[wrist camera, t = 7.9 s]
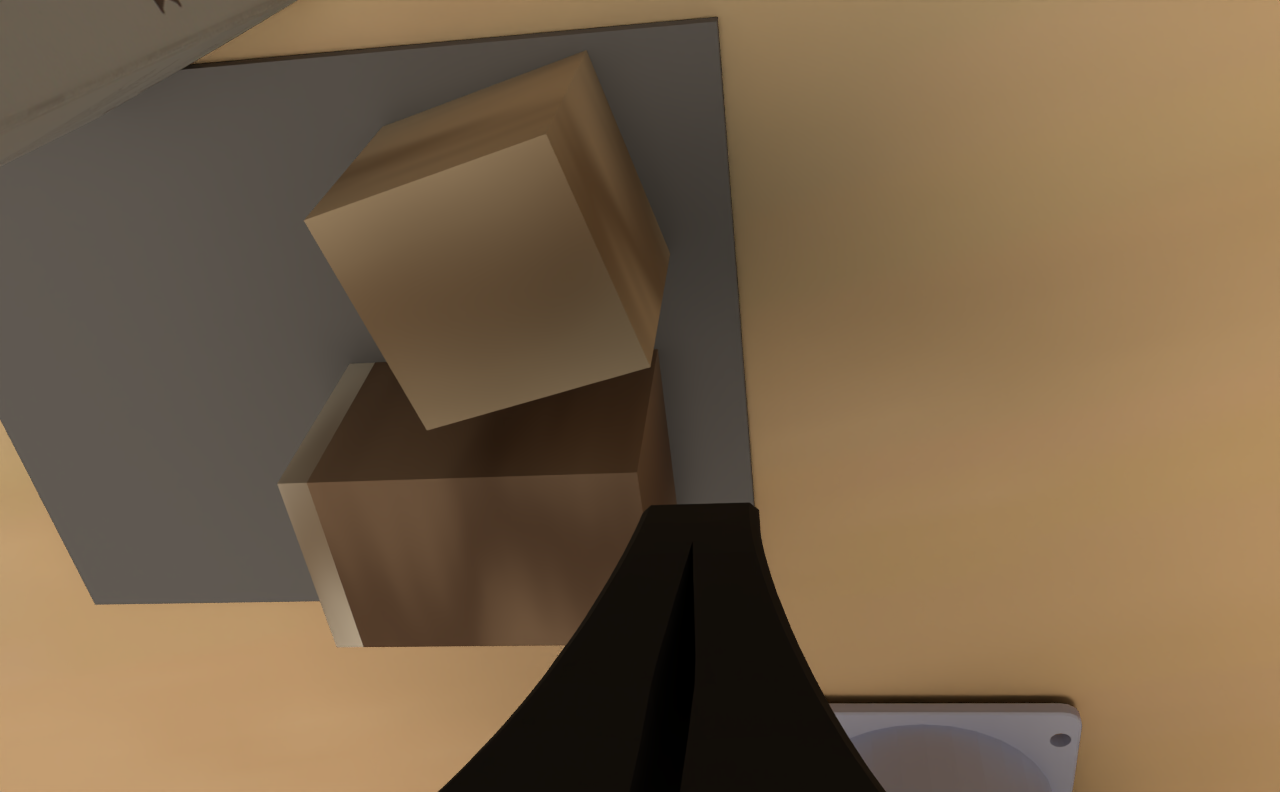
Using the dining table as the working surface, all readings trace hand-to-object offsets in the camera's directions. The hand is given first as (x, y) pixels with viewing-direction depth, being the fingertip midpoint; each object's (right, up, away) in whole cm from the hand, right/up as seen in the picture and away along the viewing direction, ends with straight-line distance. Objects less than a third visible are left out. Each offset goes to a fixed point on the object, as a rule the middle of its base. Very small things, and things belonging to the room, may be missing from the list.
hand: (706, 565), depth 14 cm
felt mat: (-8, +3, +12) cm, 14 cm away
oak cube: (-3, +6, +8) cm, 11 cm away
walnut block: (-7, 0, +11) cm, 13 cm away
